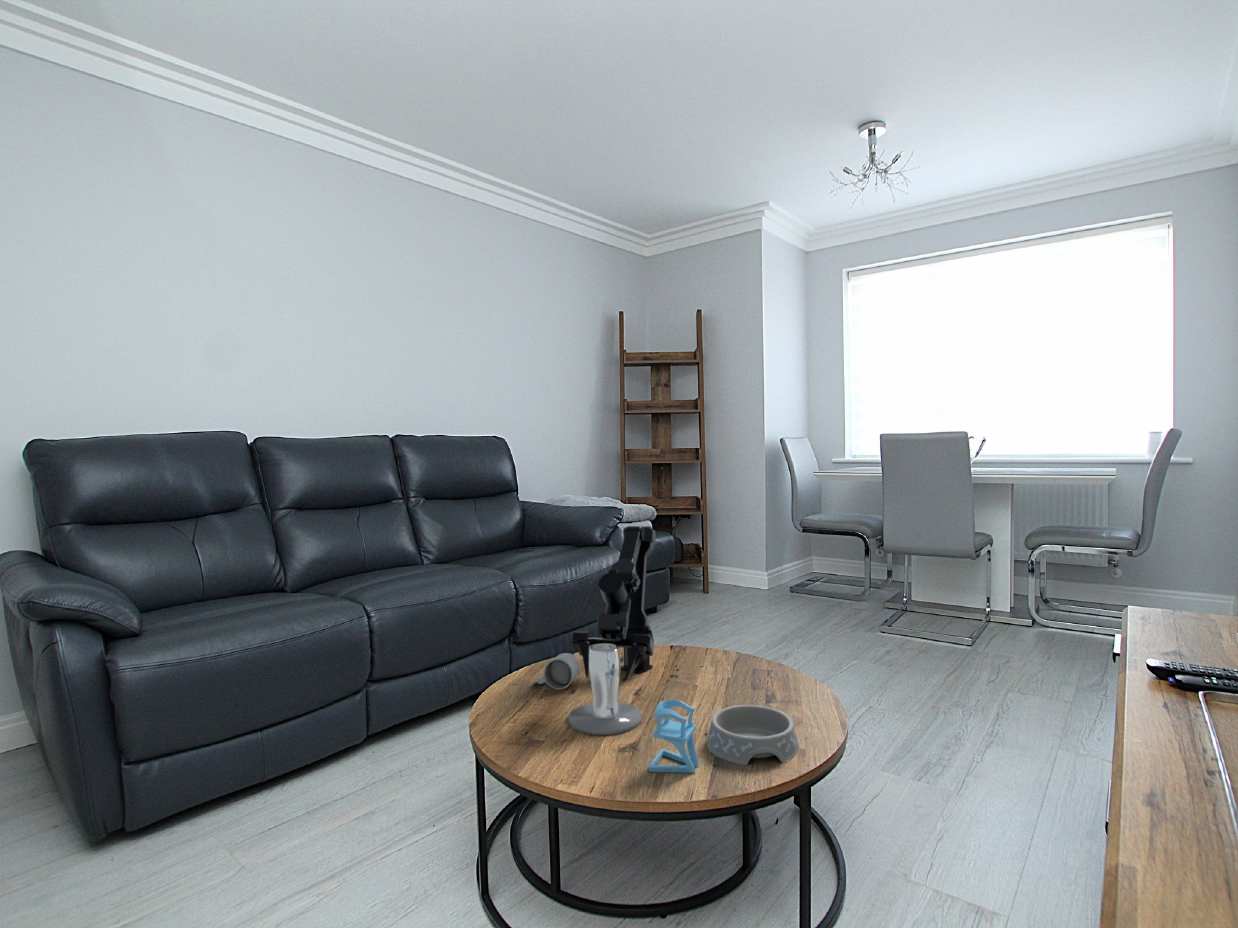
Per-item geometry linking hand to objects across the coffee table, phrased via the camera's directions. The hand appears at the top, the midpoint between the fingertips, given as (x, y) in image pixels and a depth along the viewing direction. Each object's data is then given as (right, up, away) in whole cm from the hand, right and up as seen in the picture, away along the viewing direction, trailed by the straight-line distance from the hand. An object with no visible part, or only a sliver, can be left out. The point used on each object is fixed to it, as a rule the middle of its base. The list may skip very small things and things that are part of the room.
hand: (606, 677), depth 153 cm
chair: (+13, -9, -24) cm, 29 cm away
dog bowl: (+29, -9, -16) cm, 35 cm away
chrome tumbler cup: (0, -8, -1) cm, 8 cm away
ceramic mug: (-13, -9, +21) cm, 26 cm away
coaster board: (0, -9, -2) cm, 9 cm away
